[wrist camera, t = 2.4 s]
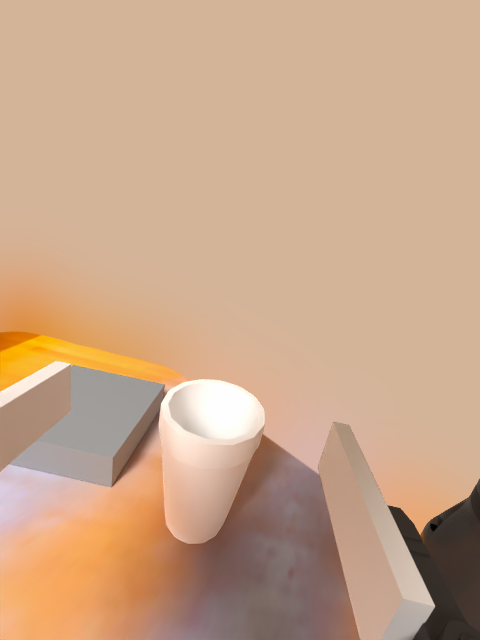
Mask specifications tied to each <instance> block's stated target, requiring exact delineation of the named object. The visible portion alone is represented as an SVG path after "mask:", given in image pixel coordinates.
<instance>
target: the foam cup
mask: <svg viewBox="0 0 480 640" xmlns="http://www.w3.org/2000/svg"><path fill="white" fill-rule="evenodd" d="M264 425H265V417H264V409H263V407H262V406H261V404H260V403H259V402H258V400H257V399H256V397H255V396H253V395H252V394H250V393H249V392H247V391H246V390H244V389H243V388H241V387H239V386H236V385H233V384H230V383H227V382H224V381H218V380H206V379H200V380H194V381H188V382H183V383H181V384H180V385H178V386H176V387H174V388H172V389H171V390H169V391H168V393H167V394H166V396H165V398H164V399H163V401H162V403H161V408H160V417H159V432H160V438H161V443H162V466H163V489H164V509H165V519H166V526H167V527H168V529H169V530H170V532H171V533H172V534H173V536H174V537H175V538H177V539H179V540H181V541H183V542H185V543H187V544H201V543H205V542H206V541H208V540H210V539H211V538H213V537H215V536H216V535H217V533H218V532H219V530H220V529H221V527H222V526H223V524H224V521H225V520H226V518H227V515H228V513H229V510H230V508H231V506H232V503H233V501H234V499H235V496H236V494H237V492H238V489H239V487H240V484H241V482H242V480H243V477H244V475H245V473H246V470H247V468H248V466H249V463H250V461H251V458H252V456H253V454H254V452H255V451H256V450H257V448H258V447H259V445H260V441H261V437H262V433H263V429H264Z"/></svg>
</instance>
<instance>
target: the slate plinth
mask: <svg viewBox="0 0 480 640" xmlns="http://www.w3.org/2000/svg"><path fill="white" fill-rule="evenodd" d="M164 387H165V385H164V384H159V383H155V382H150V381H145V380H141V379H136V378H131V377H127V376H122V375H117V374H113V373H108V372H103V371H98V370H94V369H89V368H84V367H80V366H75V365H73V366H72V367H71V411H70V412H69V413H68V414H67V415H66V416H64V417H63V418H62V419H61V420H60V421H59V422H57V423H56V424H55V425H54V426H53V427H52V428H50V429H49V430H48V431H47V432H46V433H45V434H43V435H42V436H41V437H40V438H39V439H38V440H36V441H35V442H34V443H33V444H32V445H31V446H29V447H28V448H27V449H26V450H25V451H24V452H22V453H21V454H20V455H19V456H18V457H17V458H15V459H14V460H13V461H12V462H11V463H9V464H12V465H16V466H20V467H25V468H29V469H34V470H38V471H42V472H47V473H51V474H56V475H60V476H64V477H69V478H73V479H78V480H82V481H86V482H91V483H95V484H100V485H104V486H108V487H112V485H113V484H114V482H115V480H116V479H117V477H118V476H119V474H120V473H121V471H122V469H123V468H124V466H125V465H126V463H127V461H128V460H129V458H130V457H131V455H132V453H133V452H134V450H135V449H136V447H137V446H138V444H139V442H140V441H141V439H142V438H143V436H144V434H145V433H146V431H147V430H148V428H149V426H150V425H151V423H152V422H153V420H154V419H155V417H156V415H157V414H158V412H159V411H160V408H161V403H162V401H163V396H164Z"/></svg>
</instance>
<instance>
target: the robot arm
mask: <svg viewBox="0 0 480 640" xmlns="http://www.w3.org/2000/svg"><path fill="white" fill-rule="evenodd" d="M70 411H71V364H69V363H64V362H59V361H55V362H54V363H52V364H50V365H48V366H46V367H45V368H43V369H41V370H39V371H37V372H35V373H34V374H32V375H30V376H28V377H26V378H25V379H23V380H21V381H19V382H17V383H16V384H14V385H12V386H10V387H8V388H7V389H5V390H3V391H1V392H0V471H1V470H2V469H4V468H5V467H6V466H7V465H8V464H9V463H11V462H12V461H13V460H14V459H15V458H17V457H18V456H19V455H20V454H21V453H22V452H24V451H25V450H26V449H27V448H28V447H29V446H31V445H32V444H33V443H34V442H35V441H36V440H38V439H39V438H40V437H41V436H42V435H43V434H45V433H46V432H47V431H48V430H49V429H50V428H52V427H53V426H54V425H55V424H56V423H57V422H59V421H60V420H61V419H62V418H63V417H64V416H66V415H67V414H68V413H69V412H70ZM318 470H319V474H320V478H321V482H322V486H323V490H324V494H325V498H326V502H327V507H328V511H329V515H330V519H331V523H332V527H333V531H334V535H335V539H336V544H337V548H338V552H339V556H340V560H341V564H342V568H343V572H344V576H345V581H346V585H347V589H348V593H349V597H350V601H351V605H352V609H353V613H354V617H355V622H356V626H357V630H358V634H359V638H360V640H480V479H479V481H478V483H477V485H476V486H475V488H474V490H473V491H472V493H471V495H470V496H469V497H468V498H467V499H465V500H463V501H462V502H460V503H458V504H457V505H455V506H453V507H451V508H450V509H448V510H446V511H445V512H443V513H441V514H440V515H438V516H436V517H434V518H433V519H431V520H430V521H429V522H428V523H427V525H426V526H425V528H424V530H423V532H422V533H421V535H419V533H418V531H417V529H416V527H415V525H414V524H413V522H412V521H411V520H410V519H409V518H408V517H407V515H406V514H405V513H404V512H403V511H402V510H401V509H400V508H397V507H393V506H388V505H387V504H386V502H385V500H384V497H383V495H382V493H381V491H380V489H379V487H378V485H377V483H376V481H375V478H374V476H373V474H372V472H371V470H370V468H369V466H368V464H367V462H366V459H365V458H364V455H363V453H362V451H361V449H360V447H359V445H358V443H357V441H356V438H355V436H354V434H353V432H352V430H351V428H350V426H349V425H346V424H341V423H337V422H333V424H332V427H331V430H330V433H329V436H328V439H327V442H326V445H325V448H324V451H323V453H322V456H321V459H320V462H319V465H318Z"/></svg>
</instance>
